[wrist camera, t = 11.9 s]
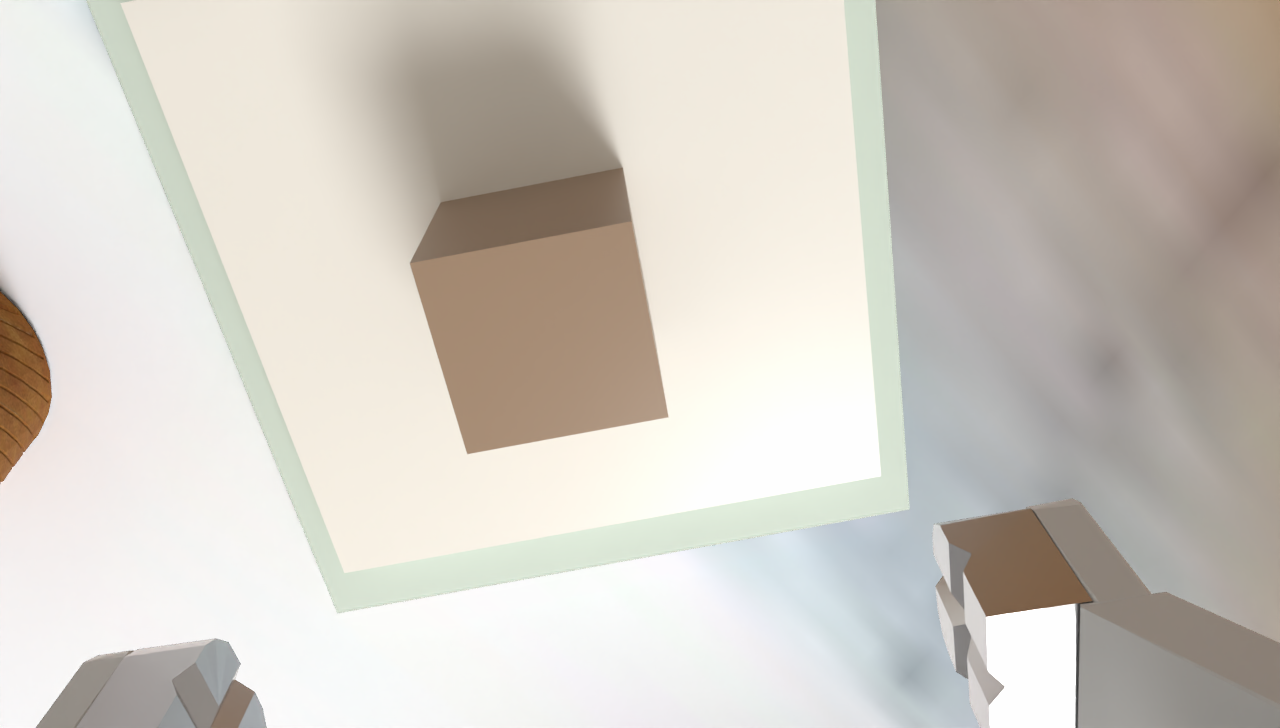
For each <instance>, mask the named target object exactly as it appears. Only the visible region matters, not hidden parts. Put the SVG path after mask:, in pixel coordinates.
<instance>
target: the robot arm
mask: <svg viewBox="0 0 1280 728" xmlns="http://www.w3.org/2000/svg"><path fill="white" fill-rule="evenodd" d="M932 539H933V554H934V557H935V559H936V561H937V563H938V565H939V568H940V570H941V572H942V574H943V576H942V578H941V579H940V581H939V582H938V584H937V585H936V596H937V607H938V614H939V619H940V624H941V629H942V634H943V637H944V640H945V644H946V647H947V650H948V653H949V655H950V658H951V660H952V663H953V665H954V668H955V670H956V672H957V673H959V674H960V675H962V676H964V677H965V678H967V679H968V682H969V698H970V705H971V708H972V710H973V712H974V714H975V717H976V719H977V721H978V724H979V726H980V728H1280V643H1279V642H1276V641H1274V640H1272V639H1270V638H1267V637H1265V636H1263V635H1261V634H1259V633H1256V632H1254V631H1252V630H1250V629H1247V628H1245V627H1243V626H1241V625H1238V624H1236V623H1234V622H1232V621H1230V620H1227V619H1225V618H1223V617H1221V616H1218V615H1216V614H1214V613H1212V612H1210V611H1207V610H1205V609H1203V608H1201V607H1198V606H1196V605H1194V604H1192V603H1190V602H1187V601H1185V600H1183V599H1181V598H1178V597H1176V596H1174V595H1172V594H1170V593H1167V592H1162V593H1155V594H1151V593H1150V591H1149V590H1148V589H1147V588H1146V586H1145V585H1144V584H1143V582H1142V581H1141V580H1140V578H1139V577H1138V576H1137V575H1136V573H1135V572H1134V571H1133V569H1132V568H1131V567H1130V566H1129V564H1128V563H1127V562H1126V560H1125V559H1124V558H1123V556H1122V555H1121V554H1120V553H1119V551H1118V550H1117V549H1116V547H1115V546H1114V545H1113V544H1112V542H1111V541H1110V540H1109V538H1108V537H1107V536H1106V534H1105V533H1104V532H1103V531H1102V529H1101V528H1100V527H1099V525H1098V524H1097V523H1096V521H1095V520H1094V519H1093V518H1092V516H1091V515H1090V514H1089V512H1088V511H1087V510H1086V509H1085V507H1084V506H1083V505H1082V503H1081V502H1079V501H1077V500H1075V499H1073V498H1072V499H1066V500H1061V501H1056V502H1050V503H1045V504H1040V505H1034V506H1029V507H1026V509H1021V510H1014V511H1008V512H1002V513H996V514H990V515H984V516H978V517H972V518H966V519H960V520H954V521H948V522H942V523H936V524H934V525H933V533H932ZM240 664H241V663H240V662H239V660H238V658H237V656H236V655H235V653H234V651H233V649H232V648H231V646H230V644H229V642H226V641H223V640H219V639H209V640H201V641H194V642H187V643H179V644H172V645H165V646H157V647H150V648H143V649H137V650H135V651H124V652H118V653H111V654H104V655H98V656H96V657H94V658H92V659H90V660H88V661H86V662H84V663H83V664H82V665H81V667H80V668H79V669H78V671H77V672H76V674H75V675H74V676H73V678H72V679H71V680H70V682H69V683H68V684H67V686H66V687H65V689H64V690H63V691H62V693H61V694H60V695H59V697H58V698H57V699H56V701H55V702H54V704H53V705H52V706H51V708H50V709H49V710H48V712H47V713H46V714H45V716H44V717H43V719H42V720H41V721H40V723H39V724H38V725H37V727H36V728H267V727H266V722H265V718H264V713H263V708H262V706H261V704H260V702H259V700H258V698H257V696H256V693H255V692H254V691H252V690H251V689H249V688H247V687H246V686H244V685H243V684H241V683H240V682H238V681H236V680H235V678H236V675H237V673H238V670H239V667H240Z"/></svg>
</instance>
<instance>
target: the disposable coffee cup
mask: <svg viewBox="0 0 1280 728" xmlns="http://www.w3.org/2000/svg"><path fill="white" fill-rule="evenodd" d="M51 398H52V394H51V381H50V370H49V367H48V364H47V361H46V357H45V354H44V351H43V348H42V346H41V344H40V342H39V340H38V338H37V336H36V334H35V332H34V330H33V329H32V327H31V326H30V325H29V323H28V322H27V321H26V319H25V318H24V317H23V315H22V314H21V313H20V311H19V310H18V309H17V308H16V307H15V306H14V305H13V304H12V303H11V302H10V301H9V300H8V299H7V298H6V297H5V296H4V295H3V294H2V293H1V292H0V482H2V481H4V479H5V478H6V476H7V475H8V474H9V472H10V471H11V469H12V467H13V466H15V464H16V463H17V461H18V460H19V459H20V457H21V456H22V455H23V452H25V451H26V449H27V448H28V447H29V445H30V444H31V443H32V441H33V440H34V439H35V438H36V437H37V436H38V434H39V432H40V430H41V428H42V426H43V424H44V421H45V419H46V417H47V415H48V412H49V407H50V403H51Z"/></svg>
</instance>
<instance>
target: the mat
mask: <svg viewBox="0 0 1280 728" xmlns="http://www.w3.org/2000/svg"><path fill="white" fill-rule="evenodd" d="M86 1H87V3H88V6H89V8H90V11H91V13H92V16H93V18H94V20H95V23H96V25H97V28H98V30H99V33H100V35H101V38H102V40H103V42H104V45H105V47H106V50H107V52H108V55H109V57H110V59H111V62H112V64H113V67H114V69H115V72H116V74H117V77H118V79H119V81H120V84H121V86H122V89H123V91H124V94H125V96H126V99H127V101H128V103H129V106H130V108H131V111H132V113H133V116H134V118H135V120H136V123H137V125H138V128H139V130H140V133H141V135H142V138H143V140H144V142H145V145H146V147H147V150H148V152H149V155H150V157H151V159H152V162H153V164H154V167H155V169H156V172H157V174H158V177H159V179H160V181H161V184H162V186H163V189H164V191H165V194H166V196H167V199H168V201H169V203H170V206H171V208H172V211H173V213H174V216H175V218H176V220H177V223H178V225H179V228H180V230H181V233H182V235H183V238H184V240H185V242H186V245H187V247H188V250H189V252H190V255H191V257H192V259H193V262H194V264H195V267H196V269H197V272H198V274H199V277H200V279H201V281H202V284H203V286H204V289H205V291H206V294H207V296H208V299H209V301H210V303H211V306H212V308H213V311H214V313H215V316H216V318H217V320H218V323H219V325H220V328H221V330H222V333H223V335H224V338H225V340H226V342H227V345H228V347H229V350H230V352H231V355H232V357H233V360H234V362H235V364H236V367H237V369H238V372H239V374H240V377H241V379H242V381H243V384H244V386H245V389H246V391H247V394H248V396H249V399H250V401H251V403H252V406H253V408H254V411H255V413H256V416H257V418H258V420H259V423H260V425H261V428H262V430H263V433H264V435H265V438H266V440H267V442H268V445H269V447H270V450H271V452H272V455H273V457H274V460H275V462H276V464H277V467H278V469H279V472H280V474H281V477H282V479H283V481H284V484H285V486H286V489H287V491H288V494H289V496H290V499H291V501H292V503H293V506H294V508H295V511H296V513H297V516H298V518H299V521H300V523H301V525H302V528H303V530H304V533H305V535H306V538H307V540H308V542H309V545H310V547H311V550H312V552H313V555H314V557H315V560H316V562H317V564H318V567H319V569H320V572H321V574H322V577H323V579H324V581H325V584H326V586H327V589H328V591H329V594H330V596H331V599H332V601H333V603H334V606H335V608H336V611H337V613H342V612H348V611H353V610H359V609H364V608H370V607H375V606H381V605H386V604H392V603H397V602H403V601H408V600H414V599H419V598H425V597H430V596H436V595H441V594H447V593H452V592H458V591H463V590H469V589H474V588H480V587H485V586H491V585H496V584H502V583H507V582H513V581H518V580H524V579H529V578H535V577H540V576H546V575H551V574H557V573H562V572H568V571H573V570H579V569H584V568H590V567H595V566H601V565H606V564H612V563H617V562H623V561H628V560H634V559H639V558H645V557H650V556H656V555H661V554H667V553H672V552H678V551H683V550H689V549H694V548H700V547H705V546H711V545H716V544H722V543H727V542H733V541H738V540H744V539H749V538H755V537H760V536H766V535H771V534H777V533H782V532H788V531H793V530H799V529H804V528H810V527H815V526H821V525H826V524H832V523H837V522H843V521H848V520H854V519H859V518H865V517H870V516H876V515H881V514H887V513H892V512H898V511H903V510H909V495H908V480H907V465H906V450H905V435H904V420H903V405H902V391H901V376H900V361H899V346H898V331H897V316H896V301H895V286H894V271H893V256H892V242H891V227H890V212H889V197H888V182H887V167H886V152H885V137H884V122H883V108H882V93H881V78H880V63H879V48H878V33H877V18H876V3H875V0H844V9H845V22H846V34H847V47H848V60H849V73H850V85H851V98H852V111H853V124H854V136H855V149H856V162H857V175H858V187H859V200H860V213H861V226H862V238H863V251H864V264H865V277H866V289H867V302H868V315H869V328H870V340H871V353H872V366H873V379H874V391H875V404H876V417H877V430H878V443H879V455H880V468H881V476H879V477H874V478H868V479H863V480H857V481H852V482H846V483H841V484H835V485H830V486H824V487H819V488H813V489H807V490H802V491H796V492H791V493H785V494H780V495H774V496H769V497H763V498H758V499H752V500H747V501H741V502H736V503H730V504H724V505H719V506H713V507H708V508H702V509H697V510H691V511H686V512H680V513H675V514H669V515H664V516H658V517H653V518H647V519H642V520H636V521H630V522H625V523H619V524H614V525H608V526H603V527H597V528H592V529H586V530H581V531H575V532H570V533H564V534H559V535H553V536H547V537H542V538H536V539H531V540H525V541H520V542H514V543H509V544H503V545H498V546H492V547H487V548H481V549H476V550H470V551H464V552H459V553H453V554H448V555H442V556H437V557H431V558H426V559H420V560H415V561H409V562H404V563H398V564H393V565H387V566H382V567H376V568H370V569H365V570H359V571H354V572H348V573H344V571H343V568H342V566H341V563H340V561H339V558H338V556H337V553H336V551H335V548H334V545H333V543H332V540H331V538H330V535H329V533H328V530H327V528H326V525H325V523H324V520H323V517H322V515H321V512H320V510H319V507H318V505H317V502H316V500H315V497H314V495H313V492H312V489H311V487H310V484H309V482H308V479H307V477H306V474H305V472H304V469H303V467H302V464H301V461H300V459H299V456H298V454H297V451H296V449H295V446H294V444H293V441H292V439H291V436H290V434H289V431H288V428H287V426H286V423H285V421H284V418H283V416H282V413H281V411H280V408H279V406H278V403H277V400H276V398H275V395H274V393H273V390H272V388H271V385H270V383H269V380H268V378H267V375H266V372H265V370H264V367H263V365H262V362H261V360H260V357H259V355H258V352H257V350H256V347H255V344H254V342H253V339H252V337H251V334H250V332H249V329H248V327H247V324H246V322H245V319H244V316H243V314H242V311H241V309H240V306H239V304H238V301H237V299H236V296H235V294H234V291H233V289H232V286H231V283H230V281H229V278H228V276H227V273H226V271H225V268H224V266H223V263H222V261H221V258H220V255H219V253H218V250H217V248H216V245H215V243H214V240H213V238H212V235H211V233H210V230H209V227H208V225H207V222H206V220H205V217H204V215H203V212H202V210H201V207H200V205H199V202H198V199H197V197H196V194H195V192H194V189H193V187H192V184H191V182H190V179H189V177H188V174H187V171H186V169H185V166H184V164H183V161H182V159H181V156H180V154H179V151H178V149H177V146H176V144H175V141H174V138H173V136H172V133H171V131H170V128H169V126H168V123H167V121H166V118H165V116H164V113H163V110H162V108H161V105H160V103H159V100H158V98H157V95H156V93H155V90H154V88H153V85H152V82H151V80H150V77H149V75H148V72H147V70H146V67H145V65H144V62H143V60H142V57H141V54H140V52H139V49H138V47H137V44H136V42H135V39H134V37H133V34H132V32H131V29H130V27H129V24H128V21H127V19H126V16H125V14H124V11H123V9H122V6H121V4H120V3H123V2H129V1H134V0H86Z"/></svg>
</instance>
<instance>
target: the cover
mask: <svg viewBox="0 0 1280 728" xmlns="http://www.w3.org/2000/svg"><path fill="white" fill-rule="evenodd" d="M120 4H121V6H122V9H123V11H124V14H125V16H126V19H127V21H128V24H129V27H130V29H131V32H132V34H133V37H134V39H135V42H136V44H137V47H138V49H139V52H140V54H141V57H142V60H143V62H144V65H145V67H146V70H147V72H148V75H149V77H150V80H151V82H152V85H153V88H154V90H155V93H156V95H157V98H158V100H159V103H160V105H161V108H162V110H163V113H164V116H165V118H166V121H167V123H168V126H169V128H170V131H171V133H172V136H173V138H174V141H175V144H176V146H177V149H178V151H179V154H180V156H181V159H182V161H183V164H184V166H185V169H186V171H187V174H188V177H189V179H190V182H191V184H192V187H193V189H194V192H195V194H196V197H197V199H198V202H199V205H200V207H201V210H202V212H203V215H204V217H205V220H206V222H207V225H208V227H209V230H210V233H211V235H212V238H213V240H214V243H215V245H216V248H217V250H218V253H219V255H220V258H221V261H222V263H223V266H224V268H225V271H226V273H227V276H228V278H229V281H230V283H231V286H232V289H233V291H234V294H235V296H236V299H237V301H238V304H239V306H240V309H241V311H242V314H243V316H244V319H245V322H246V324H247V327H248V329H249V332H250V334H251V337H252V339H253V342H254V344H255V347H256V350H257V352H258V355H259V357H260V360H261V362H262V365H263V367H264V370H265V372H266V375H267V378H268V380H269V383H270V385H271V388H272V390H273V393H274V395H275V398H276V400H277V403H278V406H279V408H280V411H281V413H282V416H283V418H284V421H285V423H286V426H287V428H288V431H289V434H290V436H291V439H292V441H293V444H294V446H295V449H296V451H297V454H298V456H299V459H300V461H301V464H302V467H303V469H304V472H305V474H306V477H307V479H308V482H309V484H310V487H311V489H312V492H313V495H314V497H315V500H316V502H317V505H318V507H319V510H320V512H321V515H322V517H323V520H324V523H325V525H326V528H327V530H328V533H329V535H330V538H331V540H332V543H333V545H334V548H335V551H336V553H337V556H338V558H339V561H340V563H341V566H342V568H343V571H344V573H348V572H354V571H359V570H365V569H370V568H376V567H382V566H387V565H393V564H398V563H404V562H409V561H415V560H420V559H426V558H431V557H437V556H442V555H448V554H453V553H459V552H464V551H470V550H476V549H481V548H487V547H492V546H498V545H503V544H509V543H514V542H520V541H525V540H531V539H536V538H542V537H547V536H553V535H559V534H564V533H570V532H575V531H581V530H586V529H592V528H597V527H603V526H608V525H614V524H619V523H625V522H630V521H636V520H642V519H647V518H653V517H658V516H664V515H669V514H675V513H680V512H686V511H691V510H697V509H702V508H708V507H713V506H719V505H724V504H730V503H736V502H741V501H747V500H752V499H758V498H763V497H769V496H774V495H780V494H785V493H791V492H796V491H802V490H807V489H813V488H819V487H824V486H830V485H835V484H841V483H846V482H852V481H857V480H863V479H868V478H874V477H879V476H881V468H880V455H879V443H878V430H877V417H876V404H875V391H874V379H873V366H872V353H871V340H870V328H869V315H868V302H867V289H866V277H865V264H864V251H863V238H862V226H861V213H860V200H859V187H858V175H857V162H856V149H855V136H854V124H853V111H852V98H851V85H850V73H849V60H848V47H847V34H846V22H845V9H844V0H134V1H129V2H123V3H120Z"/></svg>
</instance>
